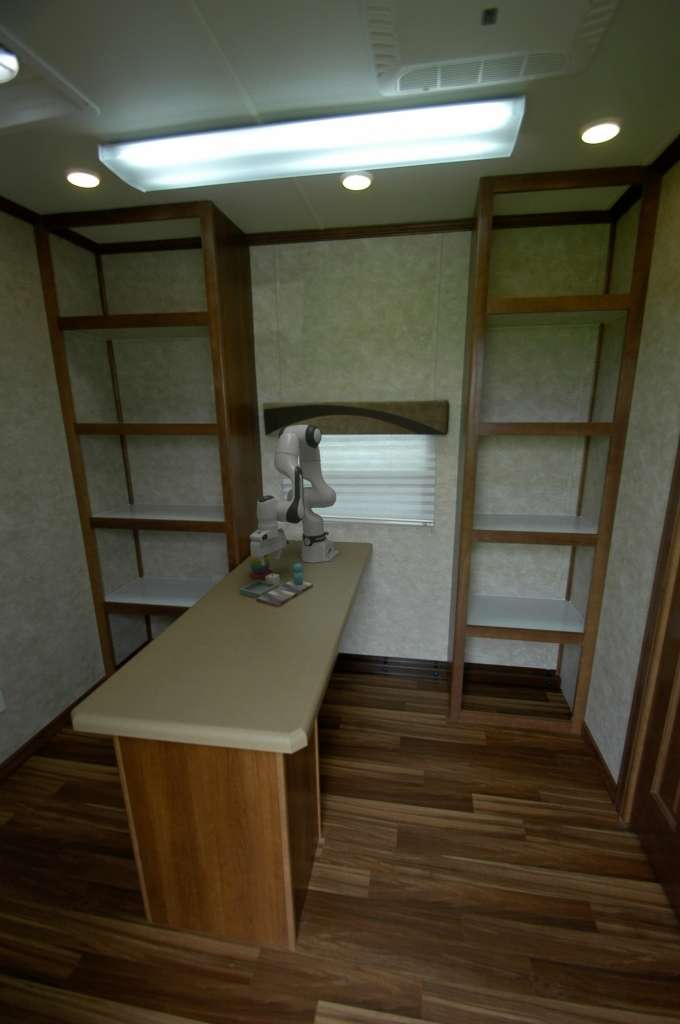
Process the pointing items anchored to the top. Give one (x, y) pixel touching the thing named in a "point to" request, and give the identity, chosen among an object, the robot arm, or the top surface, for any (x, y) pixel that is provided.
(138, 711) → the top surface
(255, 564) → the stacking bear
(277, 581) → the die
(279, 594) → the board
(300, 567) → the pawn
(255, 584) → the tray
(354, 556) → the top surface
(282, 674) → the top surface
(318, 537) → the robot arm
